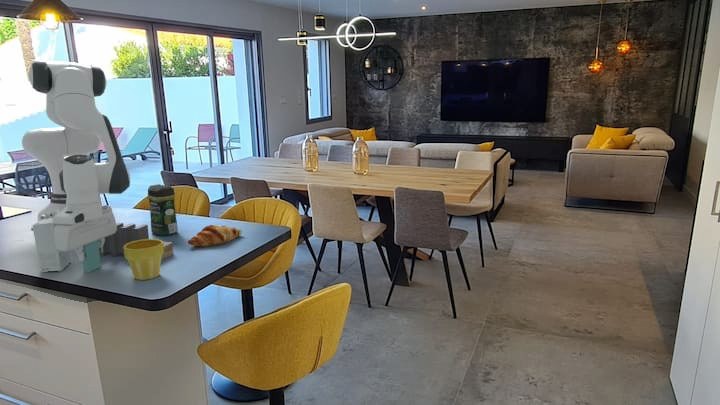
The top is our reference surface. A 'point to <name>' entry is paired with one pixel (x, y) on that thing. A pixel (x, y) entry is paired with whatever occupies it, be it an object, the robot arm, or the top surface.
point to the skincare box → (49, 247)
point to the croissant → (214, 236)
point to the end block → (167, 250)
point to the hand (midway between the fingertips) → (90, 256)
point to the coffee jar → (162, 210)
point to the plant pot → (144, 257)
